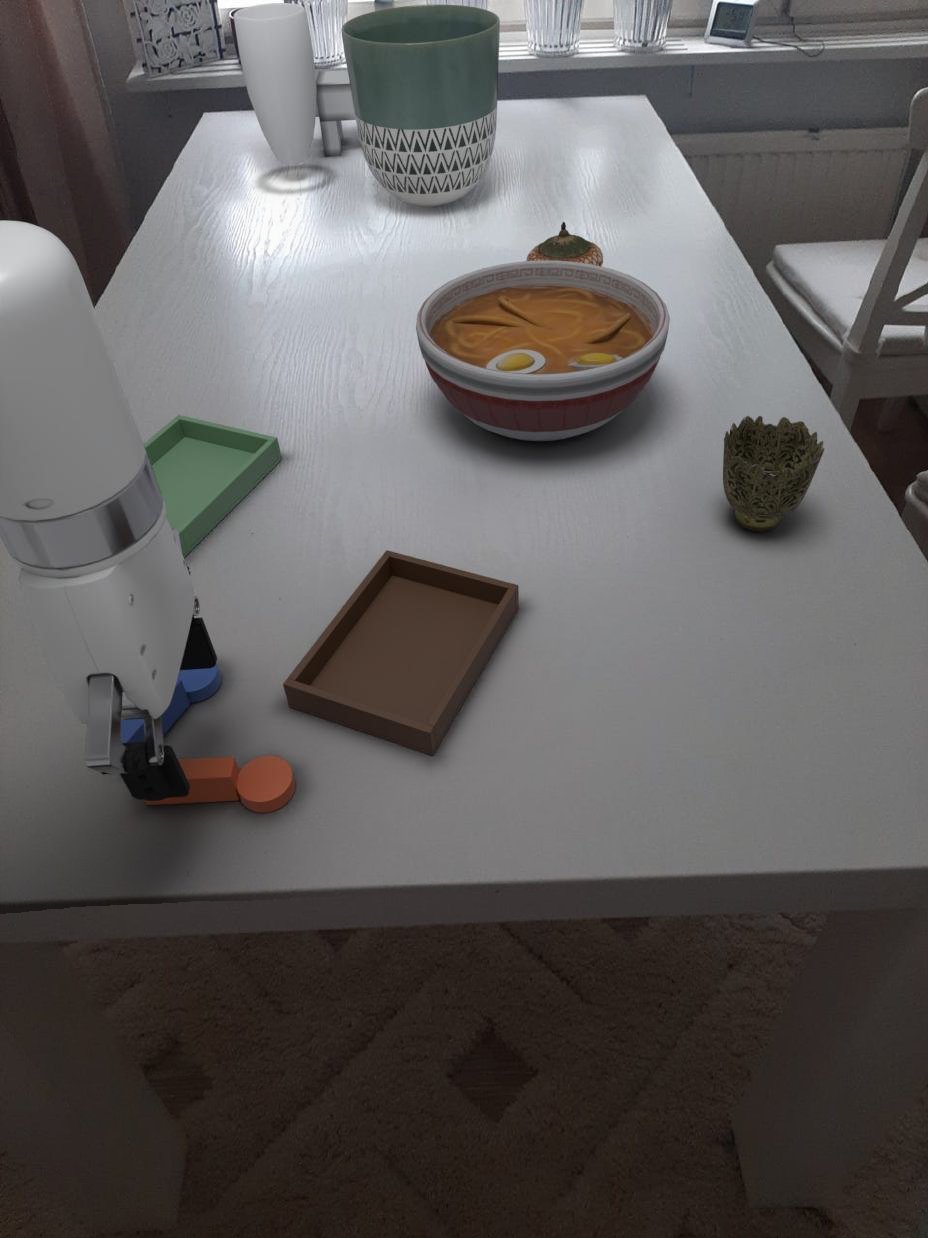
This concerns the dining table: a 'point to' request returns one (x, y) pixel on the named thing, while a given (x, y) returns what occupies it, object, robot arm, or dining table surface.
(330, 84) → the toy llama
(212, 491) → the green tray
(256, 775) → the terracotta spoon
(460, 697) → the tray
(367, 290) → the dining table surface
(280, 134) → the cup
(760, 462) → the decorative vase
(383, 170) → the planter
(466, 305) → the bowl
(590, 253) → the acorn
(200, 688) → the blue spoon
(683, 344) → the dining table surface
